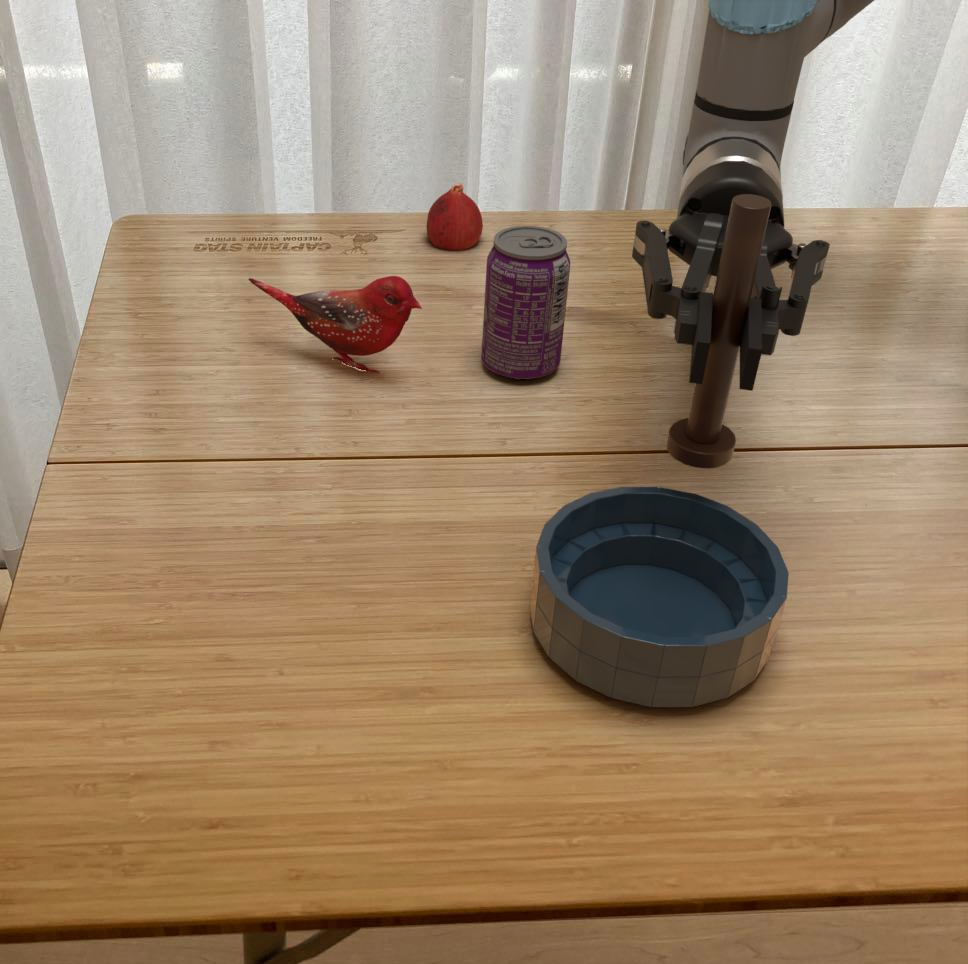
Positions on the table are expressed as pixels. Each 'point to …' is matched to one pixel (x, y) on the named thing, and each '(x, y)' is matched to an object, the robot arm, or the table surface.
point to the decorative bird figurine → (352, 315)
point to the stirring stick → (723, 339)
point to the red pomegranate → (454, 221)
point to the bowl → (657, 595)
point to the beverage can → (525, 302)
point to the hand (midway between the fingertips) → (725, 366)
